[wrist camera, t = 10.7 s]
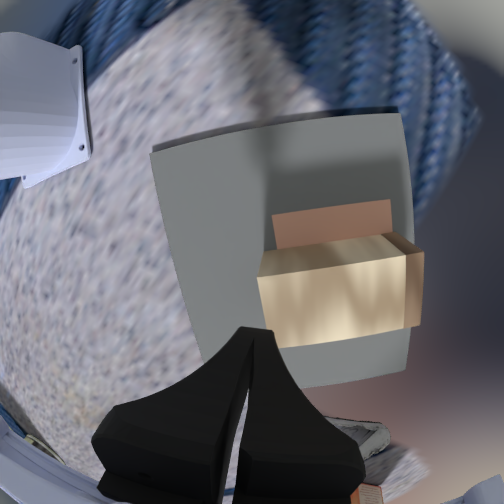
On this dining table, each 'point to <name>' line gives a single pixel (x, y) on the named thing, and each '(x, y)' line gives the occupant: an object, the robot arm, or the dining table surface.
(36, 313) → the dining table surface
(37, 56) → the robot arm
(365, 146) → the rubber mat
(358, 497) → the cracker box
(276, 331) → the maple block
